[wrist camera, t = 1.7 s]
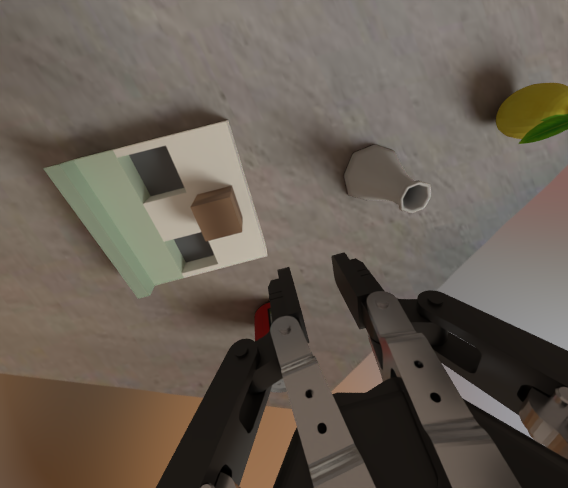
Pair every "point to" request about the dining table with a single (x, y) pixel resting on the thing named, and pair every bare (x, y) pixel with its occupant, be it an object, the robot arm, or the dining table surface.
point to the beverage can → (261, 329)
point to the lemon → (534, 112)
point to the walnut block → (217, 213)
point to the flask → (384, 179)
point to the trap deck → (161, 205)
